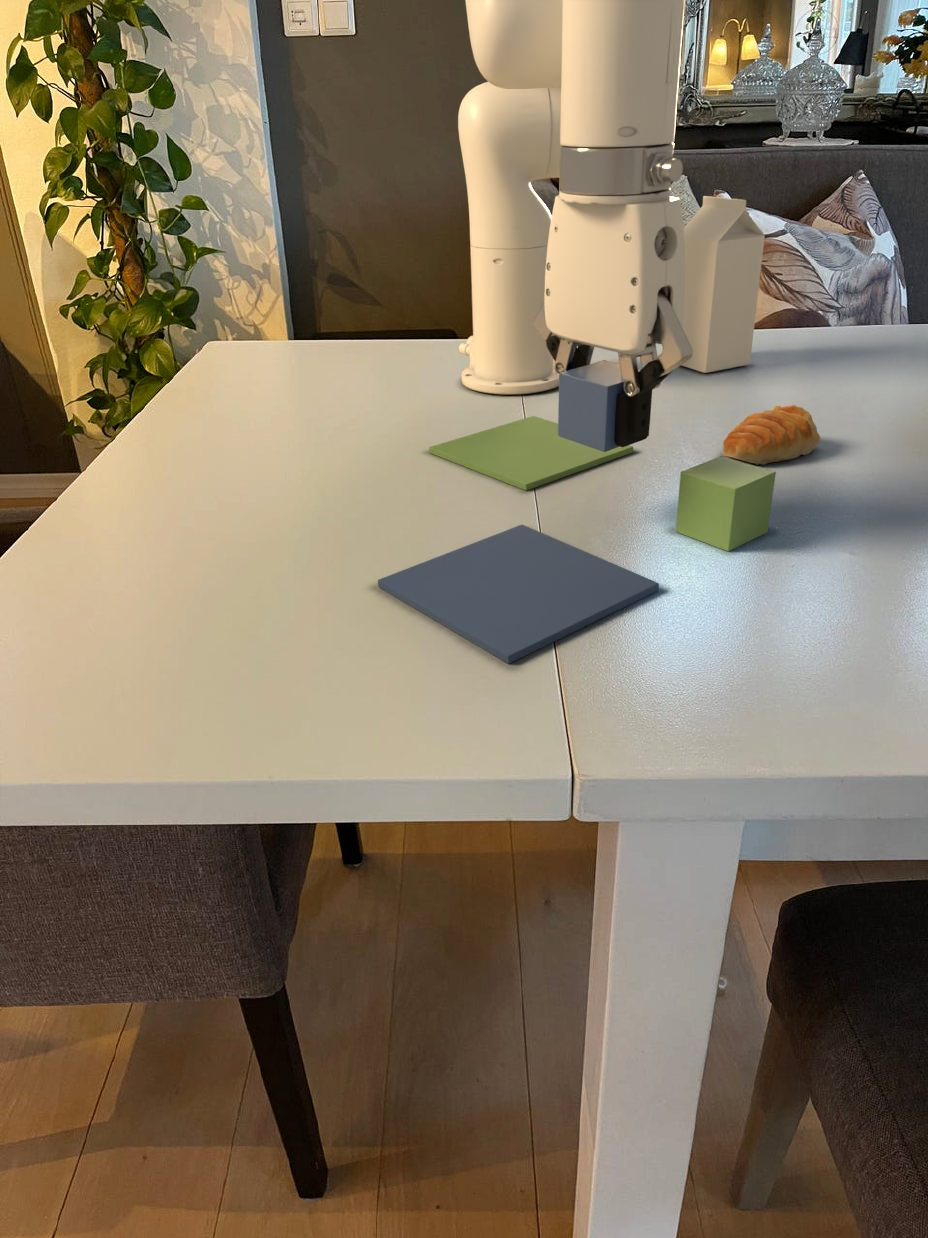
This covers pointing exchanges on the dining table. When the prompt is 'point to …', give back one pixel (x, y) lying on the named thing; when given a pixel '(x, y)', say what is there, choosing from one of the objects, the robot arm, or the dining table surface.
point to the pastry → (773, 436)
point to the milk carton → (721, 284)
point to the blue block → (590, 404)
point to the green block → (725, 502)
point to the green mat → (524, 453)
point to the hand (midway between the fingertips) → (603, 430)
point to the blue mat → (517, 591)
